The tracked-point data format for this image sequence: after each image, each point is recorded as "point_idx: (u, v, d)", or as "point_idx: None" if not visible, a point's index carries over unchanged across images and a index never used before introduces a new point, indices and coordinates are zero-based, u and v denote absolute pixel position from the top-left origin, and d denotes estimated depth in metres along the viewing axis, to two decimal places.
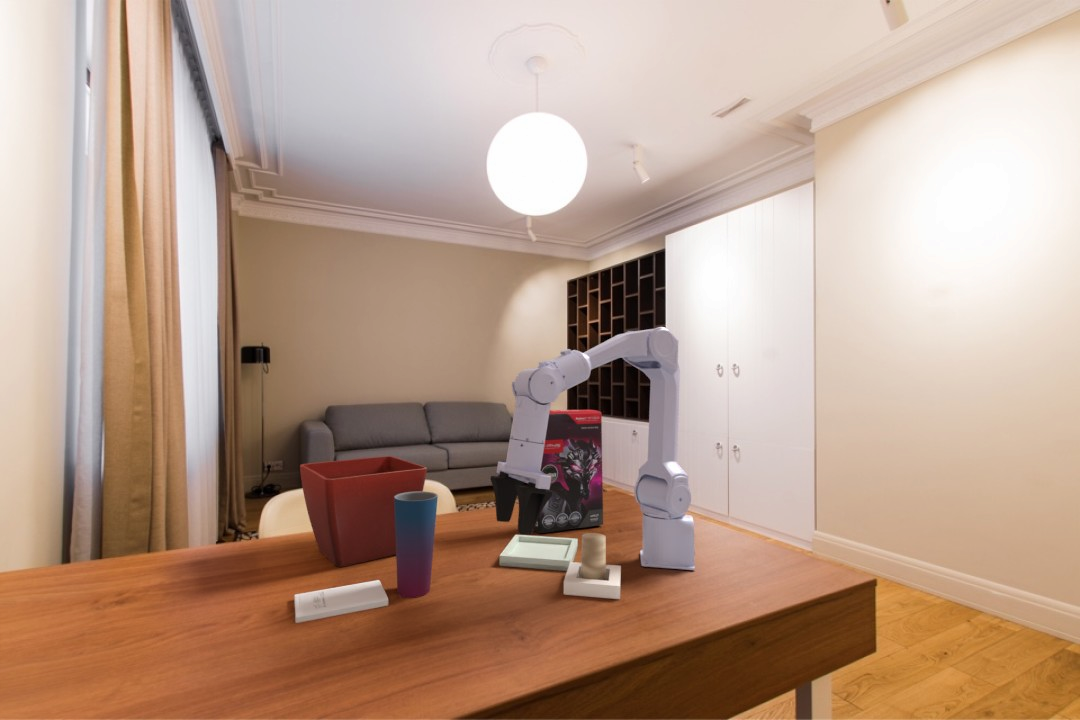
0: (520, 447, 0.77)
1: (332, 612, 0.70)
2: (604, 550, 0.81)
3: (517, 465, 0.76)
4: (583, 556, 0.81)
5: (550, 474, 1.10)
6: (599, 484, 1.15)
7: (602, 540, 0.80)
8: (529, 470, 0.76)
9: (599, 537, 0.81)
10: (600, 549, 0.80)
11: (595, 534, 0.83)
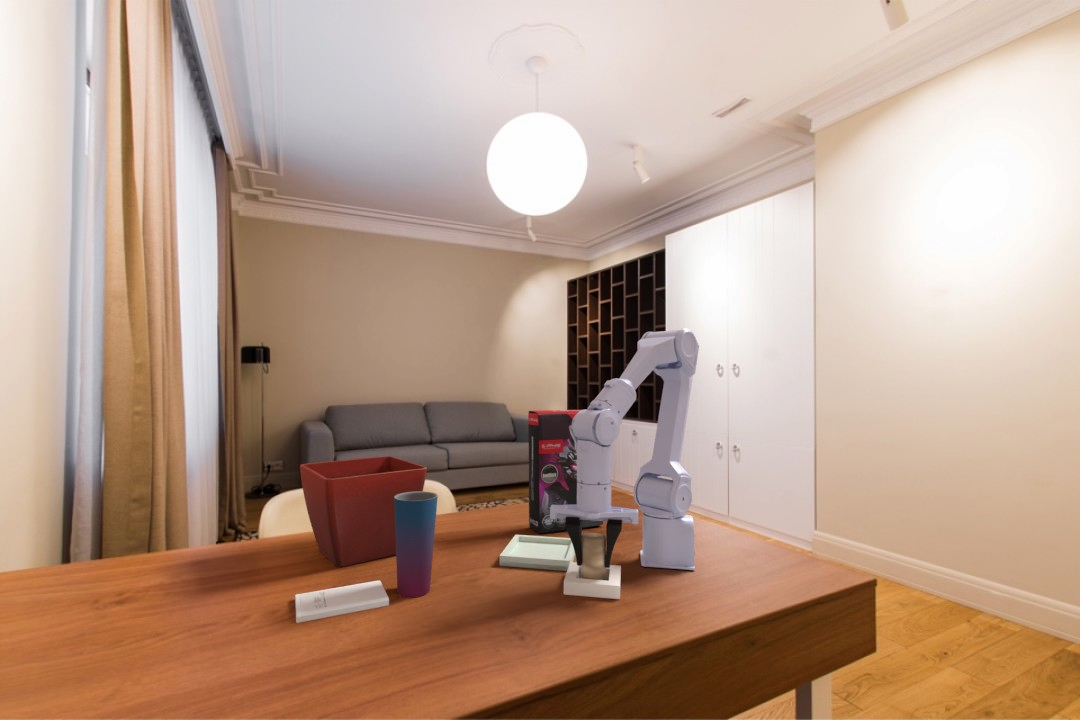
0: (604, 491, 0.80)
1: (333, 612, 0.70)
2: (604, 550, 0.81)
3: (605, 508, 0.80)
4: (583, 556, 0.81)
5: (550, 474, 1.10)
6: None
7: (602, 540, 0.80)
8: (611, 509, 0.81)
9: (599, 537, 0.81)
10: (600, 549, 0.80)
11: (595, 534, 0.83)
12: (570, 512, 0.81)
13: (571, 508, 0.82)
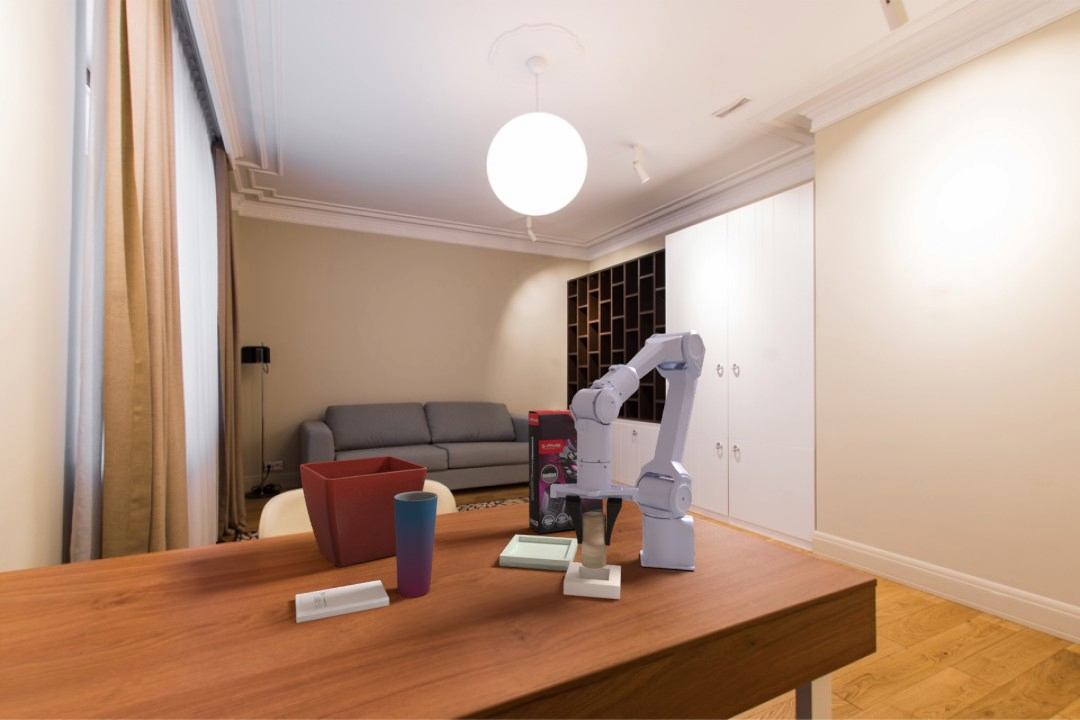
0: (605, 469, 0.80)
1: (333, 612, 0.70)
2: (604, 528, 0.81)
3: (605, 486, 0.80)
4: (583, 534, 0.81)
5: (550, 474, 1.10)
6: None
7: (603, 518, 0.80)
8: (611, 487, 0.81)
9: (599, 515, 0.82)
10: (600, 527, 0.80)
11: (595, 513, 0.83)
12: (570, 490, 0.81)
13: (571, 487, 0.83)
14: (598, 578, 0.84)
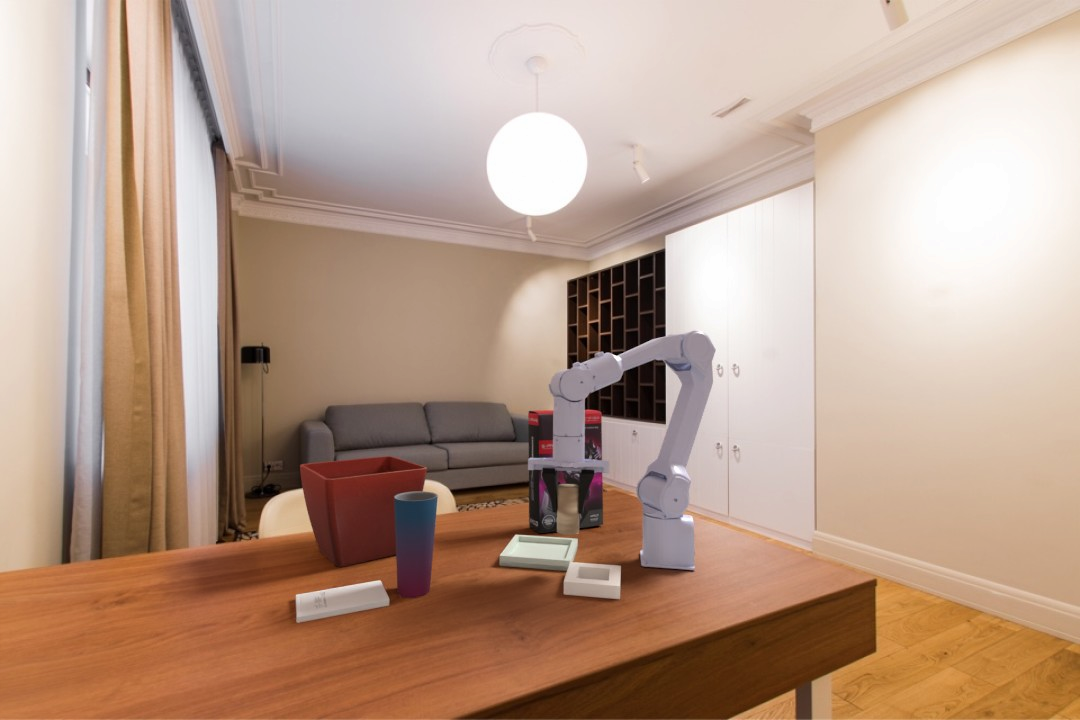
0: (578, 442, 0.86)
1: (333, 612, 0.70)
2: (578, 498, 0.87)
3: (578, 459, 0.86)
4: (558, 504, 0.87)
5: None
6: (599, 484, 1.15)
7: (576, 489, 0.87)
8: (584, 460, 0.88)
9: (573, 486, 0.88)
10: (574, 496, 0.86)
11: (570, 484, 0.89)
12: (546, 463, 0.87)
13: (548, 460, 0.89)
14: (598, 578, 0.84)
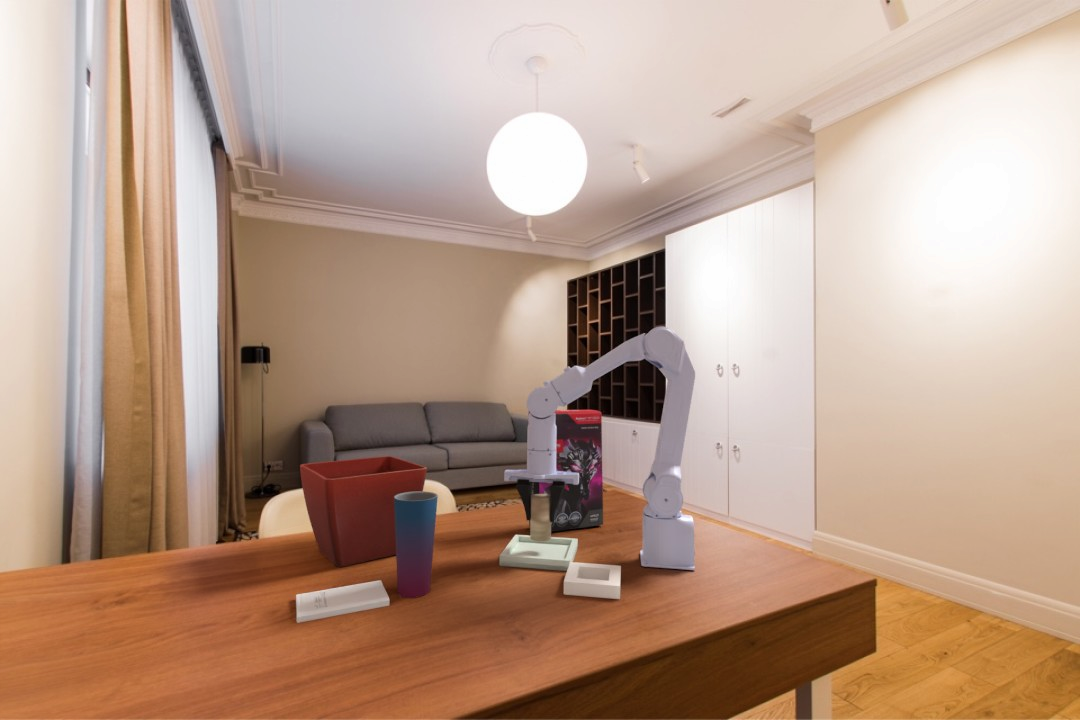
0: (549, 456, 0.94)
1: (333, 612, 0.70)
2: (549, 507, 0.94)
3: (549, 471, 0.93)
4: (532, 512, 0.94)
5: None
6: (599, 484, 1.15)
7: (548, 499, 0.94)
8: (555, 472, 0.95)
9: (545, 496, 0.95)
10: (546, 506, 0.94)
11: (542, 494, 0.97)
12: (520, 475, 0.95)
13: (522, 472, 0.96)
14: (598, 578, 0.84)
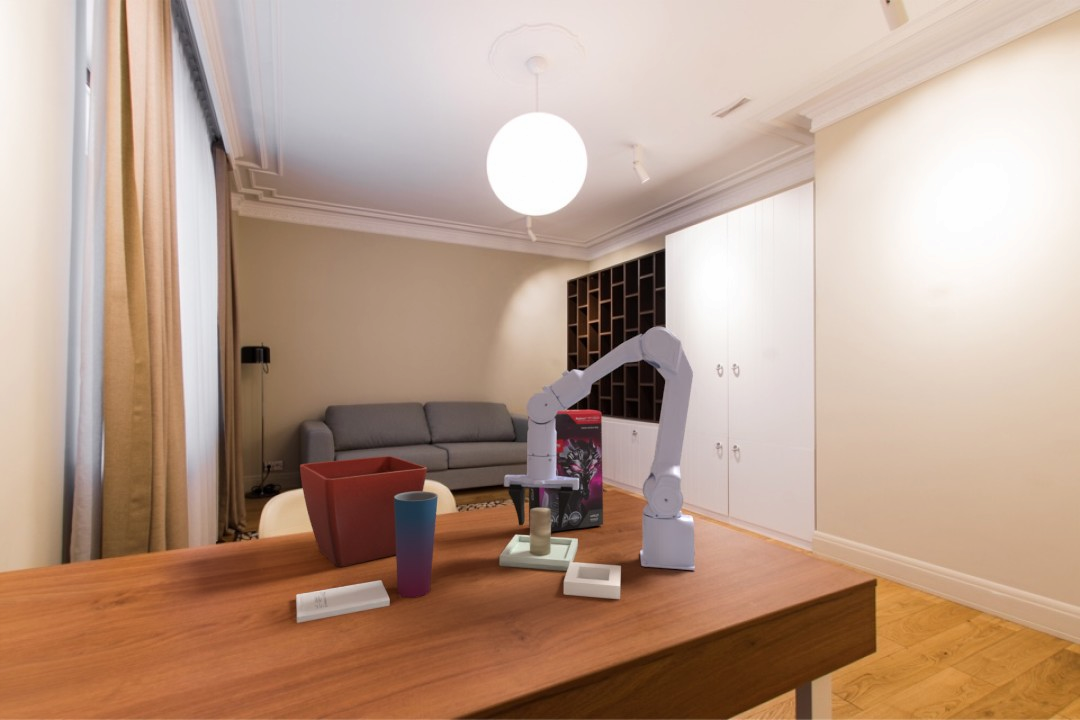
0: (549, 461, 0.94)
1: (334, 612, 0.70)
2: (549, 521, 0.94)
3: (549, 476, 0.93)
4: (531, 527, 0.94)
5: None
6: (599, 484, 1.15)
7: (547, 513, 0.94)
8: (555, 477, 0.95)
9: (545, 510, 0.95)
10: (545, 520, 0.93)
11: (542, 508, 0.97)
12: (520, 480, 0.95)
13: (522, 477, 0.96)
14: (598, 578, 0.84)
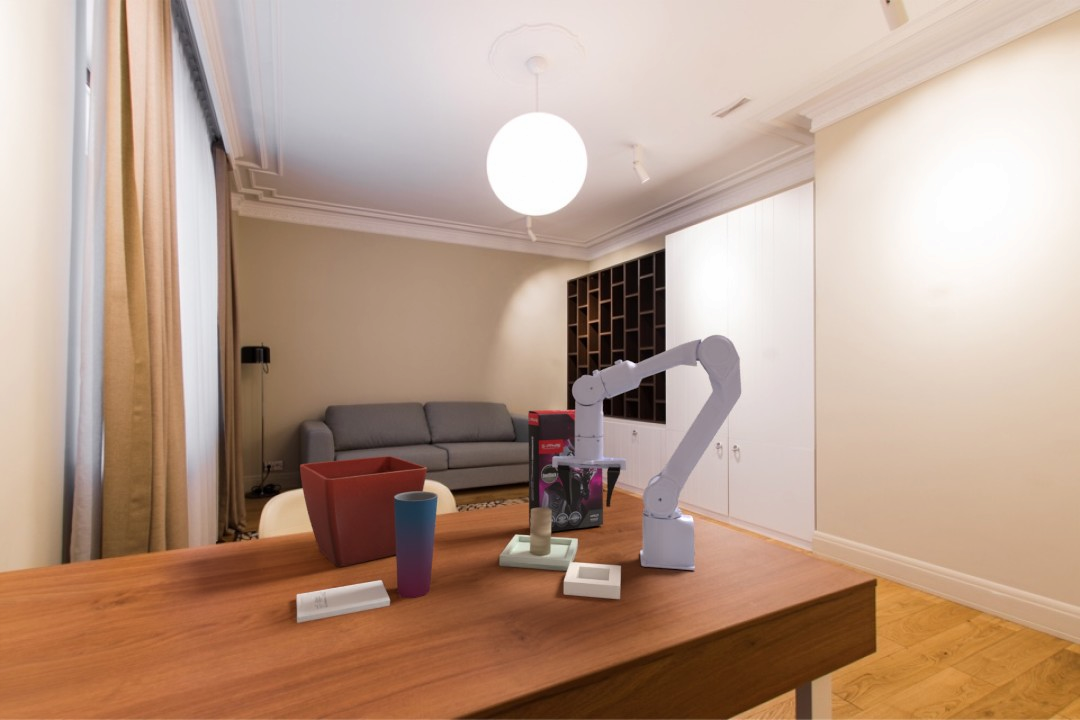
0: (597, 442, 0.96)
1: (334, 612, 0.70)
2: (550, 521, 0.94)
3: (598, 457, 0.96)
4: (532, 526, 0.94)
5: (550, 474, 1.10)
6: (599, 484, 1.15)
7: (548, 513, 0.94)
8: (603, 458, 0.97)
9: (545, 510, 0.95)
10: (546, 520, 0.93)
11: (543, 508, 0.96)
12: (569, 461, 0.97)
13: (570, 458, 0.99)
14: (598, 578, 0.84)
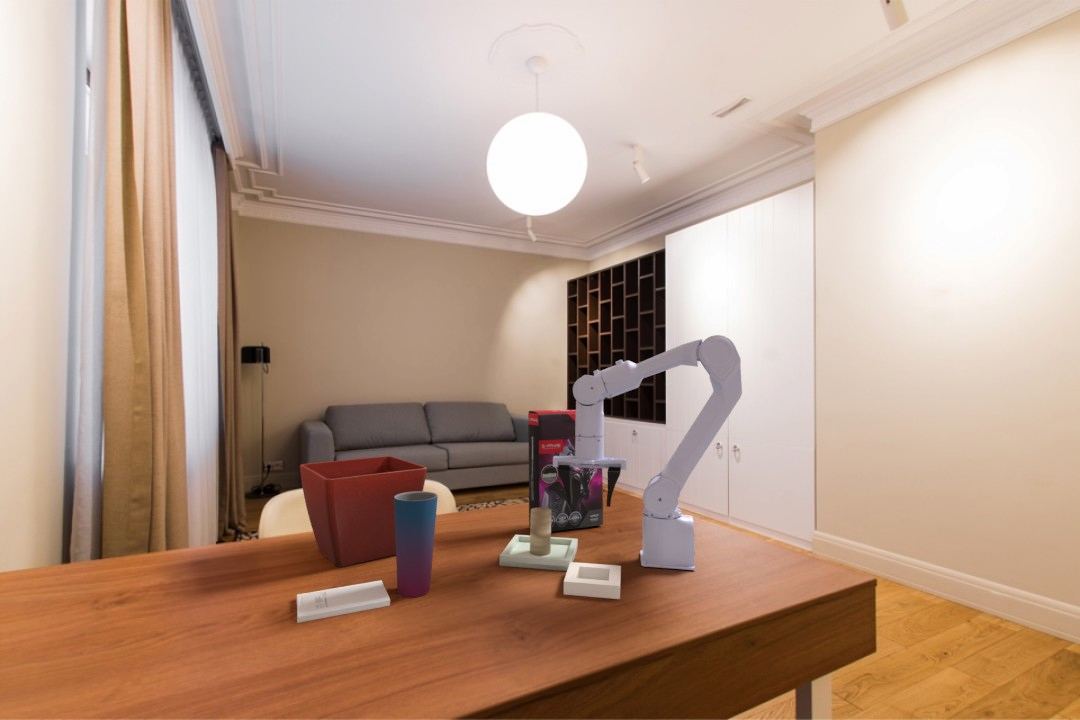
0: (598, 442, 0.96)
1: (334, 612, 0.70)
2: (549, 521, 0.94)
3: (598, 457, 0.96)
4: (531, 527, 0.94)
5: (550, 474, 1.10)
6: (599, 484, 1.15)
7: (548, 513, 0.94)
8: (603, 458, 0.97)
9: (545, 510, 0.95)
10: (546, 520, 0.93)
11: (542, 508, 0.96)
12: (569, 460, 0.97)
13: (570, 458, 0.99)
14: (598, 578, 0.84)
